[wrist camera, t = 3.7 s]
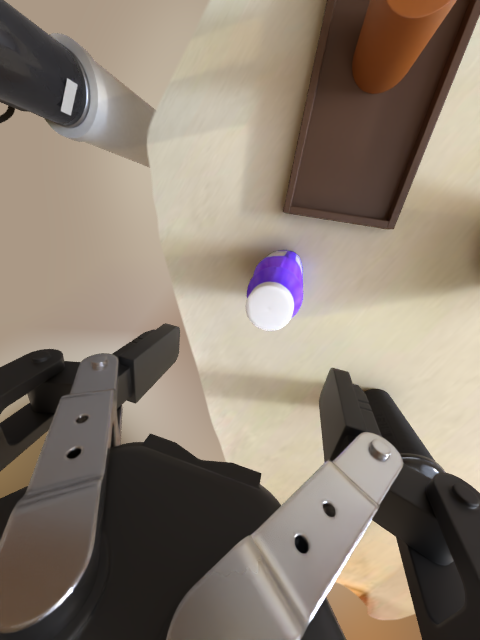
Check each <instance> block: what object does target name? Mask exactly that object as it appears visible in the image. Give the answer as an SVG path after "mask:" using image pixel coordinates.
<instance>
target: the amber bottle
mask: <svg viewBox="0 0 480 640" xmlns="http://www.w3.org/2000/svg"><path fill="white" fill-rule="evenodd" d="M456 1H457V0H370V2H369V6H368V9H367V12H366V16H365V19H364V22H363V26H362V29H361V32H360V36H359V39H358V42H357V45H356V49H355V52H354V56H353V61H352V73H353V77H354V80H355V82H356V84H357V86H358V87H359V88H360V89H361V90H363V91H364V92H367V93H371V94H378V93H382V92H385V91H387V90H389V89H391V88H393V87H394V86H395V85H397V84H398V83H399V82H400V81H401V80H402V79H403V78H404V77H405V75H406V74H407V73H408V71H409V70H410V68H411V67H412V65H413V64H414V62H415V61H416V59H417V58H418V57H419V55H420V54H421V52H422V51H423V49H424V48H425V46H426V45H427V43H428V42H429V40H430V39H431V38H432V36H433V35H434V33H435V32H436V30H437V29H438V27H439V26H440V24H441V23H442V21H443V20H444V18H445V17H446V16H447V14H448V13H449V11H450V10H451V8H452V7H453V5H454V4H455V2H456Z"/></svg>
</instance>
